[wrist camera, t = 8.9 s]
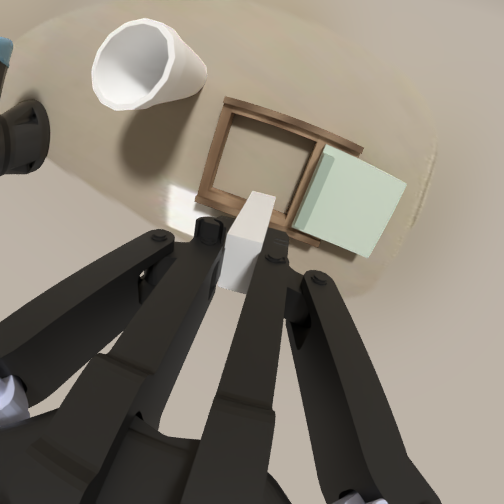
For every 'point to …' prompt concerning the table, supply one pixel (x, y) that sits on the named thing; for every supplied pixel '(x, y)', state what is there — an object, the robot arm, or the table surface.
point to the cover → (348, 202)
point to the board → (322, 137)
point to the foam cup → (145, 67)
